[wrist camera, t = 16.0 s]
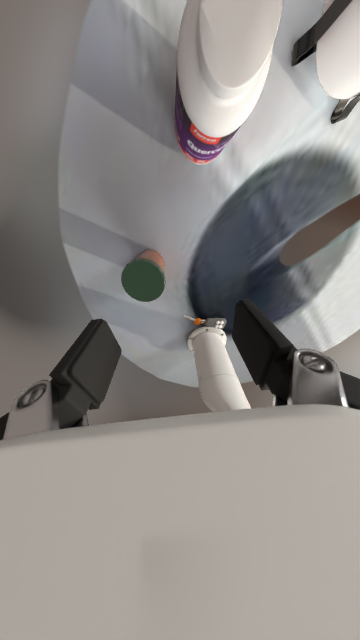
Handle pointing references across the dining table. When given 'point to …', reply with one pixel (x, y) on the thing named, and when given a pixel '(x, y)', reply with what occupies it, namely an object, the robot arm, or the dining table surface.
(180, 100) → the pill bottle
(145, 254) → the jar
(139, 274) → the lid
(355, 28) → the coffee press
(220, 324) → the key chain
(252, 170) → the dining table surface
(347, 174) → the dining table surface
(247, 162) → the dining table surface
